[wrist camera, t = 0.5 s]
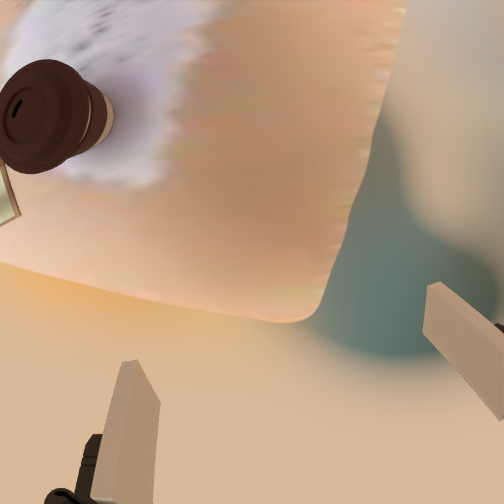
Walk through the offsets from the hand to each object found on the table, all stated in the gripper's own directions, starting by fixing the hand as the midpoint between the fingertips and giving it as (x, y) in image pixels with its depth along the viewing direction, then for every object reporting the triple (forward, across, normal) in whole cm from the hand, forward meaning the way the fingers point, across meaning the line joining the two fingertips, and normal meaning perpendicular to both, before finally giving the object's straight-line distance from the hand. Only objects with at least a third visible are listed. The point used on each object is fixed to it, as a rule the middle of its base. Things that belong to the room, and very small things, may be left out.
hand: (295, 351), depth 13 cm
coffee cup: (+28, -15, +15) cm, 35 cm away
